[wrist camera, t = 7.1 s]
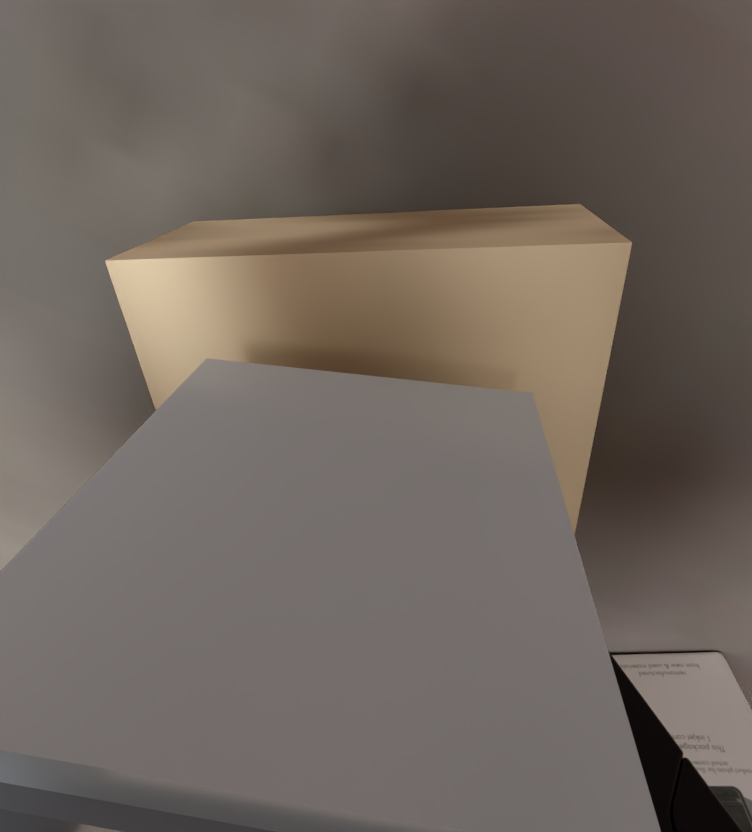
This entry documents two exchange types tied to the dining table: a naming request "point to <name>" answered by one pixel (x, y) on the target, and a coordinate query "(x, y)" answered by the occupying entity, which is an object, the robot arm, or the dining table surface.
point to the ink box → (702, 719)
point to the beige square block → (394, 305)
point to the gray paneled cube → (314, 624)
